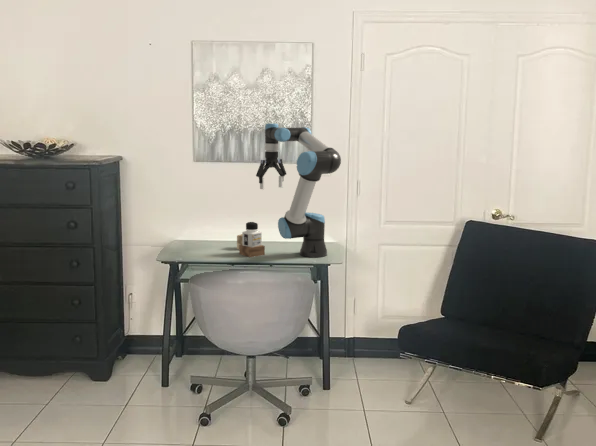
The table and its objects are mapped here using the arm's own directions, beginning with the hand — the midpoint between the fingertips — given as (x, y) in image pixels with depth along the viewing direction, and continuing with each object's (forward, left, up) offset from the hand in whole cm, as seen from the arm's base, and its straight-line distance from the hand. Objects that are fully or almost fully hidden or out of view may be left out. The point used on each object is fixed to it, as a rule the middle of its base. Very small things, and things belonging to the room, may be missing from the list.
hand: (271, 188), depth 364 cm
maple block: (+7, +14, -35) cm, 38 cm away
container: (-7, +19, -30) cm, 36 cm away
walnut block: (-7, +19, -35) cm, 40 cm away
